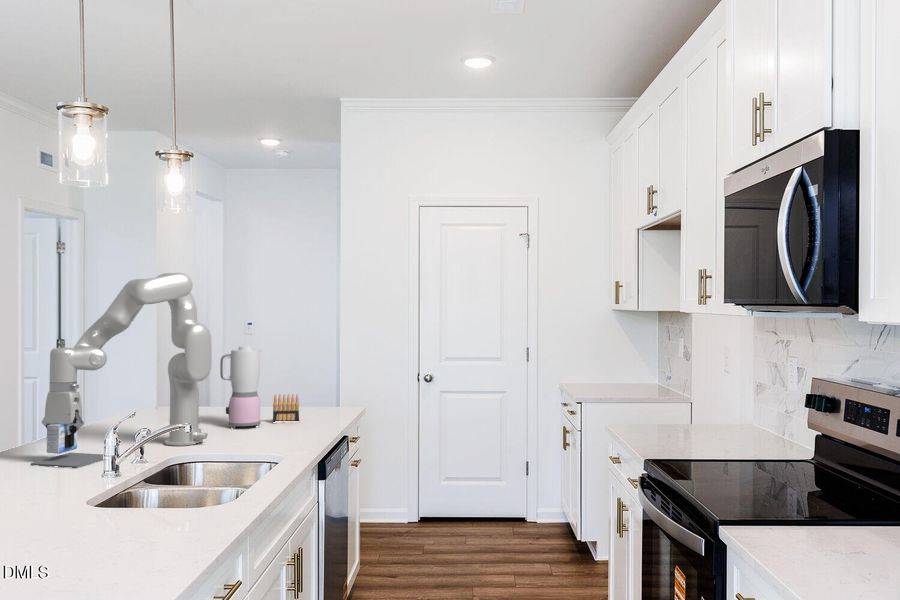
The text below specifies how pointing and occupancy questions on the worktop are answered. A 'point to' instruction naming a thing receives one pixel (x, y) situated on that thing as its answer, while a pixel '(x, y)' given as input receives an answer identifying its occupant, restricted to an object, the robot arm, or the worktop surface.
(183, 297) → the robot arm
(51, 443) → the medicine box
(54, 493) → the worktop surface
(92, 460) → the mat
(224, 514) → the worktop surface
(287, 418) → the ammunition clip
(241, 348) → the blender
